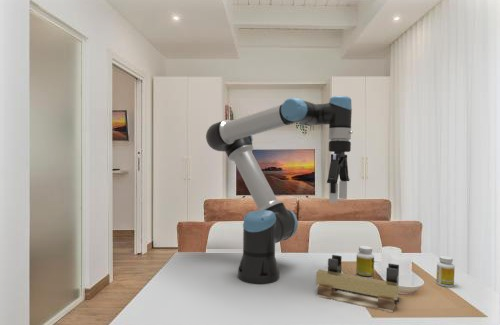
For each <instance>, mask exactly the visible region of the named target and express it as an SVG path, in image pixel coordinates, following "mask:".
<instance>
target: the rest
mask: <svg viewBox="0 0 500 325" xmlns="http://www.w3.org/2000/svg"><path fill="white" fill-rule="evenodd" d="M316 296H319V298H322V297H323V298H322V299H329V300H331V299H332V300H333V301H335V302H337V301H338V302H342V303H346V304H350V305H356V306H359V307H360V306H361V307H365V308H371V309H374V310H378V311H383V312H387V313H393V312H394V309H395V308H394V307H395V305H396V304H395V300H393V299H388V298H383V297H378V298H374V297H369V296H364V295H359V294H354V293H349V292H344V291H339V290H338V291H335V288H332V287H327V286H322V285H318V286H317V295H316Z"/></svg>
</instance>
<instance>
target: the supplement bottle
mask: <svg viewBox="0 0 500 325" xmlns="http://www.w3.org/2000/svg"><path fill="white" fill-rule="evenodd" d="M453 261H454V260H453V257H451V256H447V255H440V256H439V261H438V262H437V264H436V281H435V282H436V284H437V285H439V286H441V287H446V288H453V287H454V286H455V267H456V266H455V265H454V263H453Z"/></svg>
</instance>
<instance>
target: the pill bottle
mask: <svg viewBox="0 0 500 325" xmlns="http://www.w3.org/2000/svg"><path fill="white" fill-rule="evenodd" d="M358 251H359V252H357V253H356V263H355V264H356V265H355V267H356V268H355V270H356V271H355V276H360V277H366V278H371V279H374V274H375V255H374V254H373V248H372V247H371V246H368V245H360V246H358Z"/></svg>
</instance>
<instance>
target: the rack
mask: <svg viewBox="0 0 500 325" xmlns="http://www.w3.org/2000/svg"><path fill="white" fill-rule="evenodd" d="M327 271H331V272H337V273H342V256H341V255H338V254H337V255H336V254H332V255H331V258H328V259H327ZM399 271H400V265H399V264H396V263H388V267H386V280H385V281H388V282H394V283H398V286H399V282H400V280H399V279H400V278H399V277H400V276H399V275H400V272H399ZM335 291H341V292H346V293H351V294H356V295H361V296H366V297H371V298H376V299H378V296H373V295H368V294H363V293H358V292H352V291H347V290H342V289H337V288H335ZM399 302H400V297H399V296H398V299H397V300H395V305H397V303H399Z"/></svg>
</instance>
